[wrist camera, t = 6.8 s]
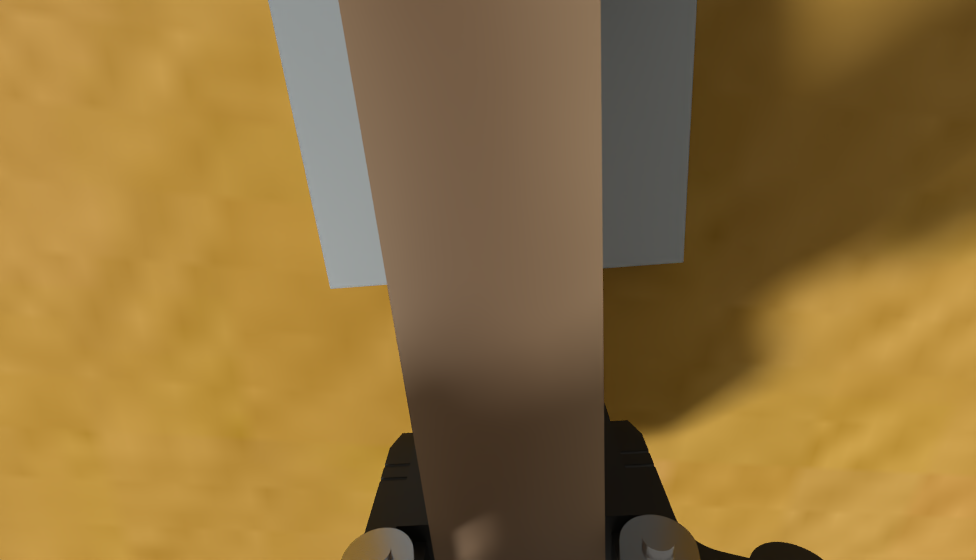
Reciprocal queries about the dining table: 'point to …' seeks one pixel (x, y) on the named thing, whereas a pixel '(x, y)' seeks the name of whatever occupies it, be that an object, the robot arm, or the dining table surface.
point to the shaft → (492, 260)
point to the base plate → (625, 133)
